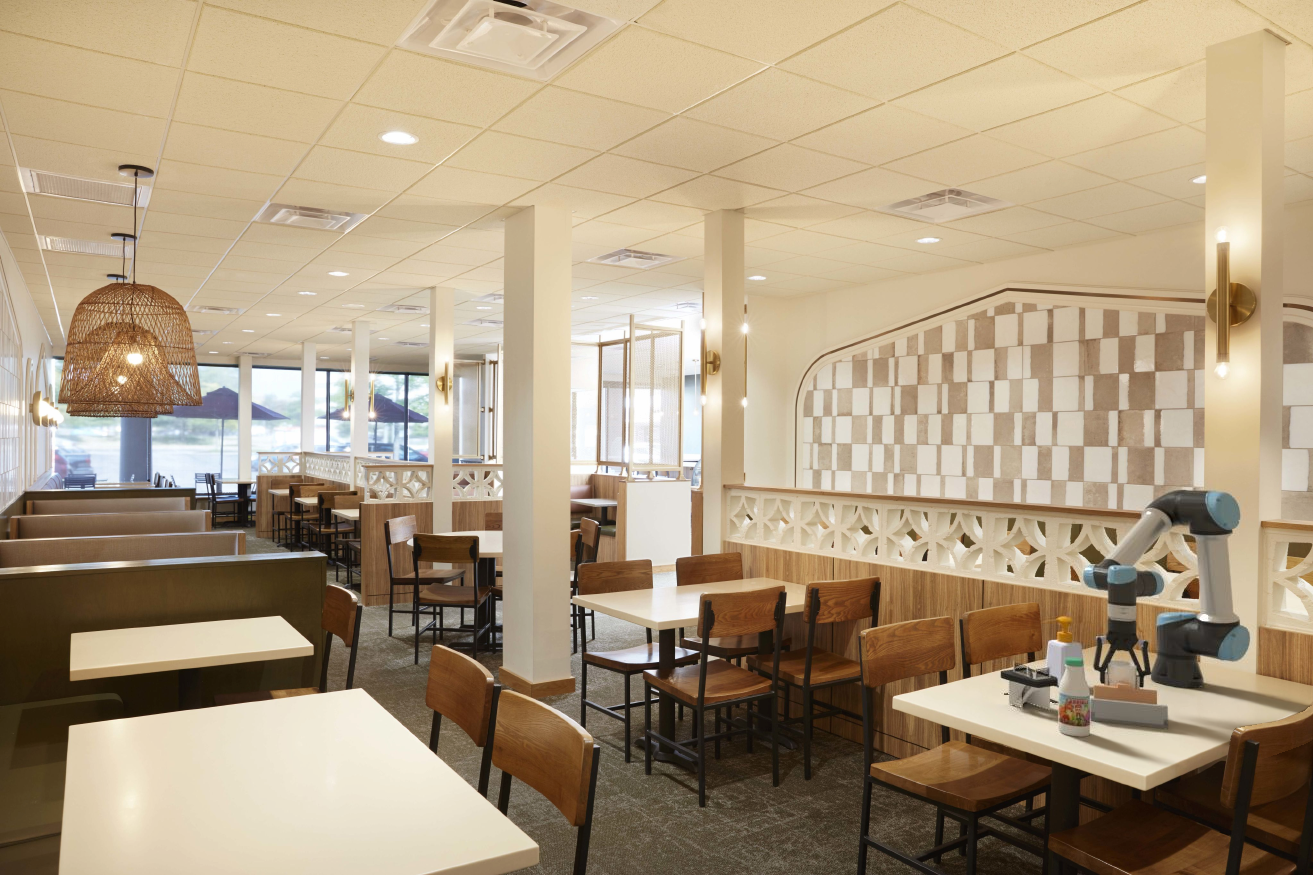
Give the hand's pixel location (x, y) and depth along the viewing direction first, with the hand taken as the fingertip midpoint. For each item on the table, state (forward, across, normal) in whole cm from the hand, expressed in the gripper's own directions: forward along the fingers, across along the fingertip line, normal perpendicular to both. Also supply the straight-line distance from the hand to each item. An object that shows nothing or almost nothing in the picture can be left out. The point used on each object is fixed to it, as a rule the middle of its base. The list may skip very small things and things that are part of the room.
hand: (1121, 696), depth 256 cm
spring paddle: (+3, 0, -6) cm, 7 cm away
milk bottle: (+5, -15, -28) cm, 32 cm away
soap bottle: (+4, -15, +25) cm, 30 cm away
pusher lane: (+4, 0, -4) cm, 6 cm away
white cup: (0, 0, 0) cm, 0 cm away
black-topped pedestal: (+5, -25, -7) cm, 27 cm away
